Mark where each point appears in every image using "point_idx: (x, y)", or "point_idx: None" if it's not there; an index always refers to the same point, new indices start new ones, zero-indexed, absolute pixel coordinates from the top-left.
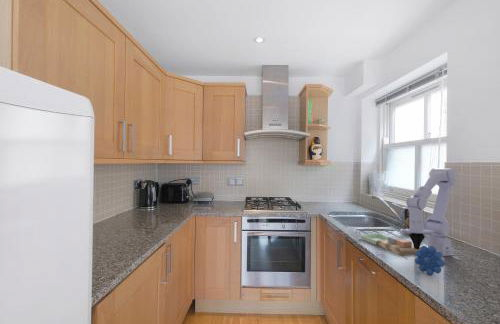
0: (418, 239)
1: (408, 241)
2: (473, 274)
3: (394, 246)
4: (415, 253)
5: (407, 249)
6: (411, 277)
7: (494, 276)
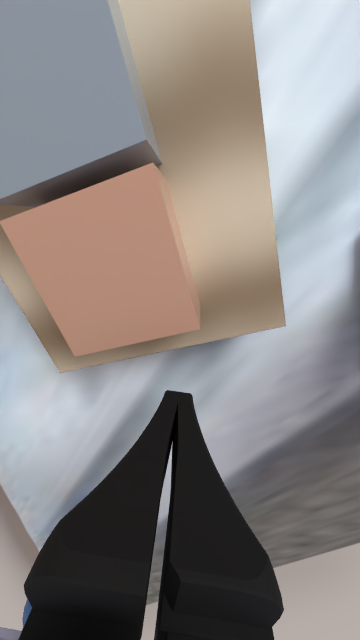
0: (165, 546)
1: (160, 315)
2: (279, 530)
3: (16, 299)
4: (27, 600)
5: (121, 355)
6: (39, 523)
7: (344, 545)
